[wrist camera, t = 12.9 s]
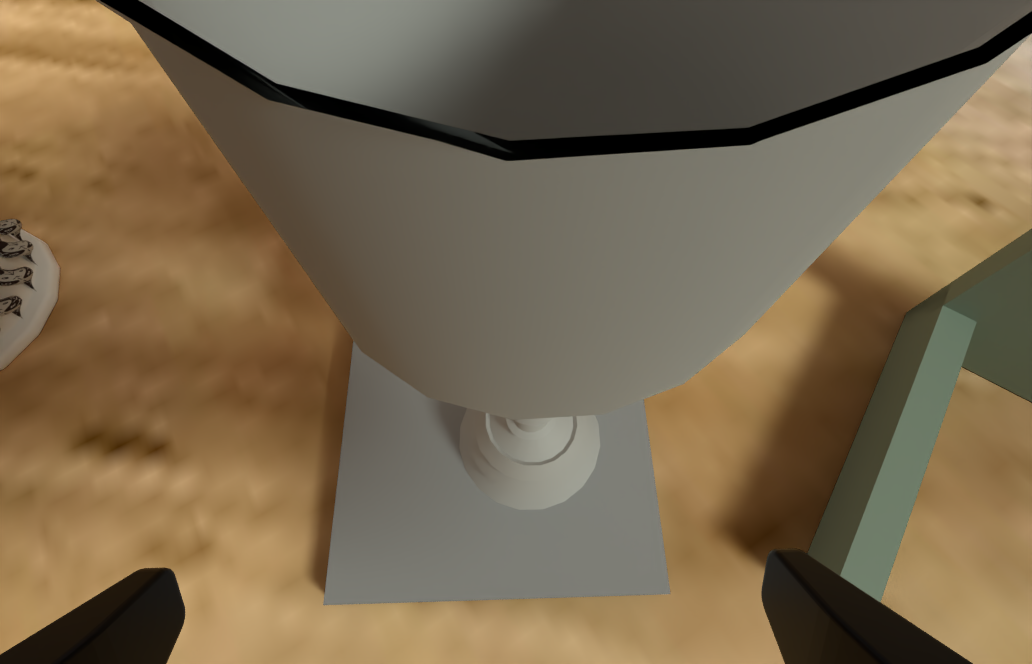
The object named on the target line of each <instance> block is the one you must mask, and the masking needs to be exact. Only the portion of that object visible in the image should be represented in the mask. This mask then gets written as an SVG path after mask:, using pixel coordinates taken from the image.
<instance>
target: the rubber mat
mask: <svg viewBox="0 0 1032 664" xmlns="http://www.w3.org/2000/svg"><path fill="white" fill-rule="evenodd" d="M466 409H467V408H466V407H462V406H458V405H454V404H451V403H447V402H443V401H439V400H435V399H432V398H428V397H426V396H425V395H423V394H422V393H421V392H419V391H418V390H416V389H415V388H413V387H412V386H410V385H409V384H408V383H406V382H405V381H403V380H402V379H400V378H399V377H397V376H396V375H395V374H393V373H392V372H390V371H389V370H387V369H386V368H384V367H383V366H382V365H380V364H379V363H377V362H376V361H374V360H373V359H371V358H370V357H369V356H367V355H366V354H364V353H363V352H361V350H360V349H359V347H358V346H357V345H356V343H355V342H354V341H353V350H352V358H351V367H350V376H349V385H348V393H347V402H346V411H345V420H344V428H343V437H342V446H341V455H340V464H339V472H338V481H337V490H336V499H335V507H334V516H333V525H332V534H331V542H330V551H329V560H328V569H327V578H326V586H325V595H324V604H323V605H341V604H373V603H404V602H436V601H467V600H499V599H530V598H561V597H593V596H624V595H656V594H670V587H669V580H668V573H667V566H666V558H665V551H664V544H663V537H662V529H661V522H660V515H659V508H658V500H657V493H656V486H655V478H654V471H653V464H652V457H651V449H650V442H649V435H648V428H647V420H646V413H645V406H644V399H643V400H640V401H637V402H635V403H632V404H630V405H627V406H624V407H622V408H619V409H616V410H614V411H611V412H609V413H606V414H603V415H595V417H596V419H597V421H598V424H599V436H600V449H599V453H598V457H597V461H596V465H595V468H594V470H593V472H592V473H591V475H590V476H589V478H588V479H587V481H586V483H585V484H584V486H583V487H582V488H581V489H580V490H578V491H577V492H576V493H575V494H573V495H572V496H571V497H570V498H568V499H567V500H566V501H565V502H562V503H559V504H556V505H554V506H551V507H548V508H545V509H539V510H518V509H515V508H512V507H509V506H506V505H503V504H500V503H497V502H496V501H494V500H493V499H492V498H490V497H489V496H487V495H486V494H485V493H483V492H482V491H481V490H479V489H478V487H477V486H476V484H475V483H474V482H473V480H472V479H471V477H470V476H469V474H468V473H467V471H466V470H465V466H464V463H463V459H462V456H461V452H460V449H459V445H460V426H461V423H462V420H463V417H464V415H465V412H466Z"/></svg>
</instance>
